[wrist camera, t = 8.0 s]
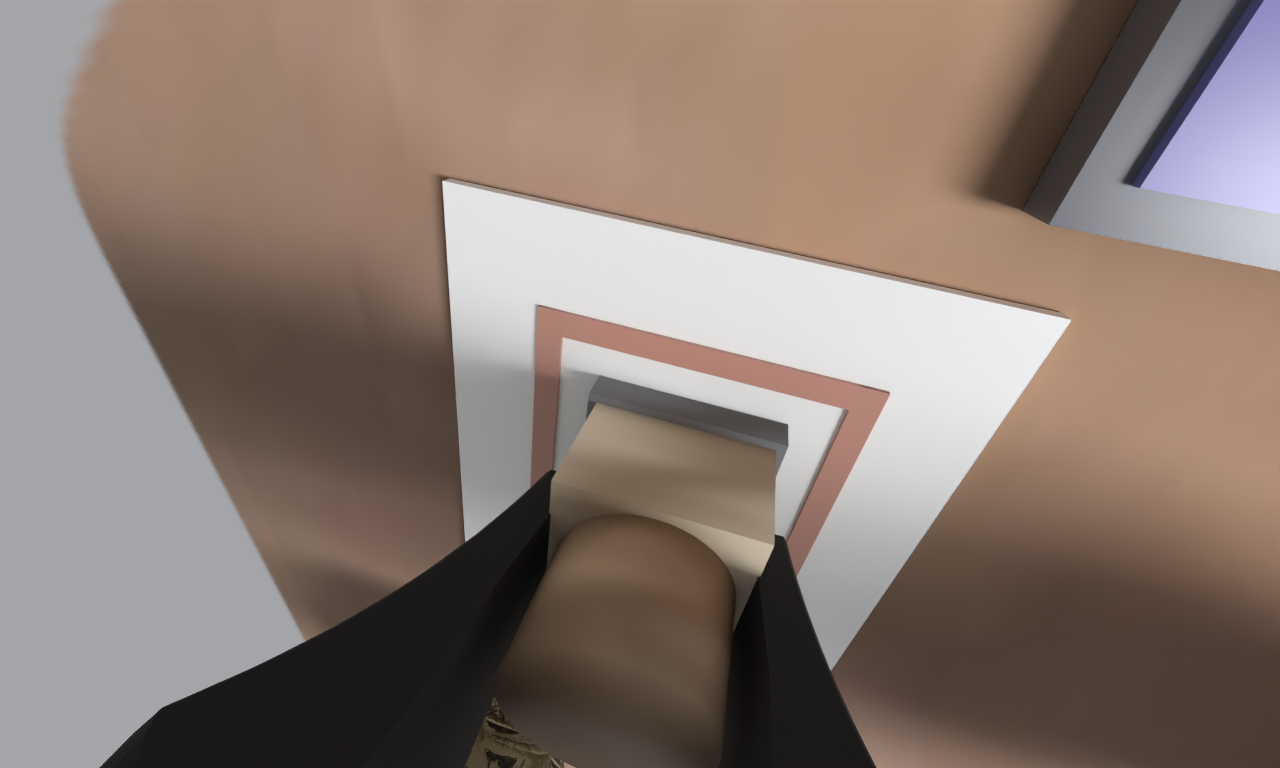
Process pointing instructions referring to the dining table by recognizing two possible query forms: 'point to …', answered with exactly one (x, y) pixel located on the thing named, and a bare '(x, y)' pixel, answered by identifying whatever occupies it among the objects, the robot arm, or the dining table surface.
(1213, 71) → the ink pad
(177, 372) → the dining table surface
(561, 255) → the card sheet
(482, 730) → the cup
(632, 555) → the stamp
